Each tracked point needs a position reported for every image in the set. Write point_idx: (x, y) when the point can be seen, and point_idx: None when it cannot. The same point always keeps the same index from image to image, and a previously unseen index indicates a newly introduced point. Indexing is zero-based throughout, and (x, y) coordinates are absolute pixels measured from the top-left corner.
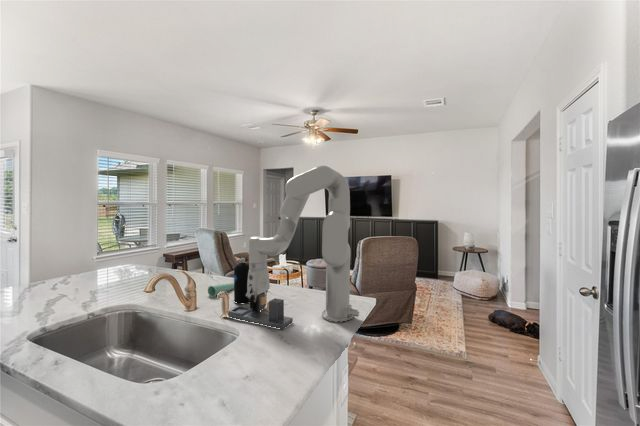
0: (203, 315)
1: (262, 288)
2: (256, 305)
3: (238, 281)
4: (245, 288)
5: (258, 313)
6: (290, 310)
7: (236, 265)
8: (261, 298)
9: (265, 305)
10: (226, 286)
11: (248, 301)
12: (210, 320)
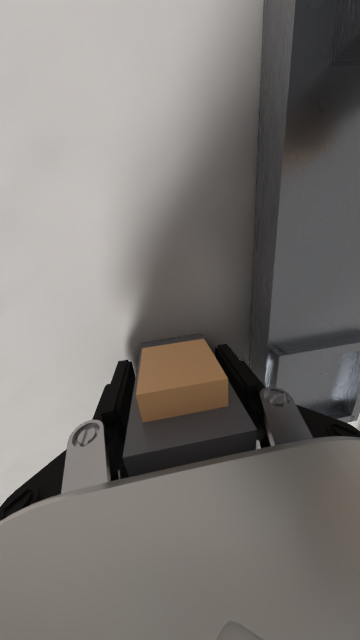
0: None
1: (294, 610)
2: (240, 363)
3: None
4: None
5: (309, 269)
6: (11, 134)
7: None
8: (225, 385)
9: (122, 361)
10: None
11: (125, 473)
12: (357, 420)
